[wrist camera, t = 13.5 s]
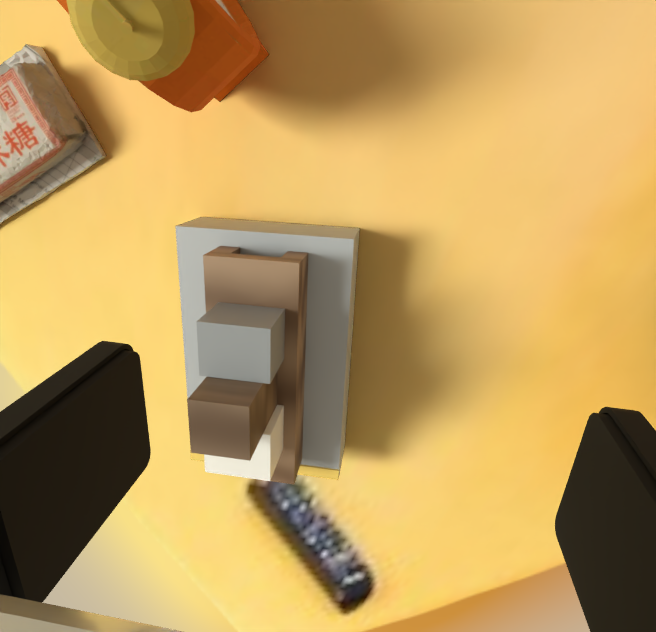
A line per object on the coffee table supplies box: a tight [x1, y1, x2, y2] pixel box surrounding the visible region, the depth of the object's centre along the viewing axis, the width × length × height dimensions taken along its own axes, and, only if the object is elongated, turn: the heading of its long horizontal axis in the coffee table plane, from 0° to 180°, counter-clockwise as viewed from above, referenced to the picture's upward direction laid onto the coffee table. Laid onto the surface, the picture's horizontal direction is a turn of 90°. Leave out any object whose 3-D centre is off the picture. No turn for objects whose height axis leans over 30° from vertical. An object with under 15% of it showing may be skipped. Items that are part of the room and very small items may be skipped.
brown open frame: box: [187, 246, 308, 484], centre depth 34 cm, size 19×7×10 cm, turn 177°
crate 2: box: [204, 405, 284, 481], centre depth 35 cm, size 4×5×4 cm
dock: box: [176, 217, 360, 480], centre depth 41 cm, size 22×14×5 cm, turn 177°
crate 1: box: [196, 302, 285, 384], centre depth 33 cm, size 4×5×4 cm
